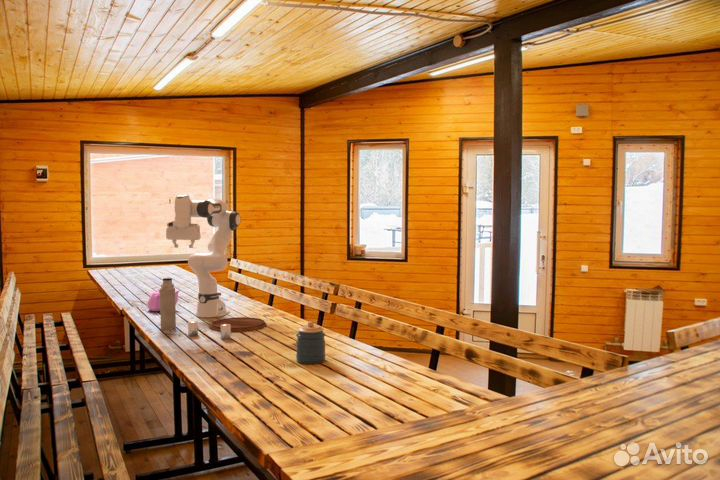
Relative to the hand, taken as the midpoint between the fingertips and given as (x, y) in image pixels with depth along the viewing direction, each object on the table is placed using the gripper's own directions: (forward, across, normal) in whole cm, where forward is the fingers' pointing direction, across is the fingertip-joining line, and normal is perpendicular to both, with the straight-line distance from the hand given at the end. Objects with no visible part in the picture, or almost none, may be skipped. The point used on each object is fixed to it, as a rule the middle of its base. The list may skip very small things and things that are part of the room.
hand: (183, 247), depth 319 cm
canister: (+44, -94, +55) cm, 118 cm away
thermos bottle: (+44, +4, +11) cm, 46 cm away
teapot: (+45, +38, -37) cm, 70 cm away
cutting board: (+45, -31, -4) cm, 55 cm away
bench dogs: (+44, -28, +24) cm, 58 cm away
